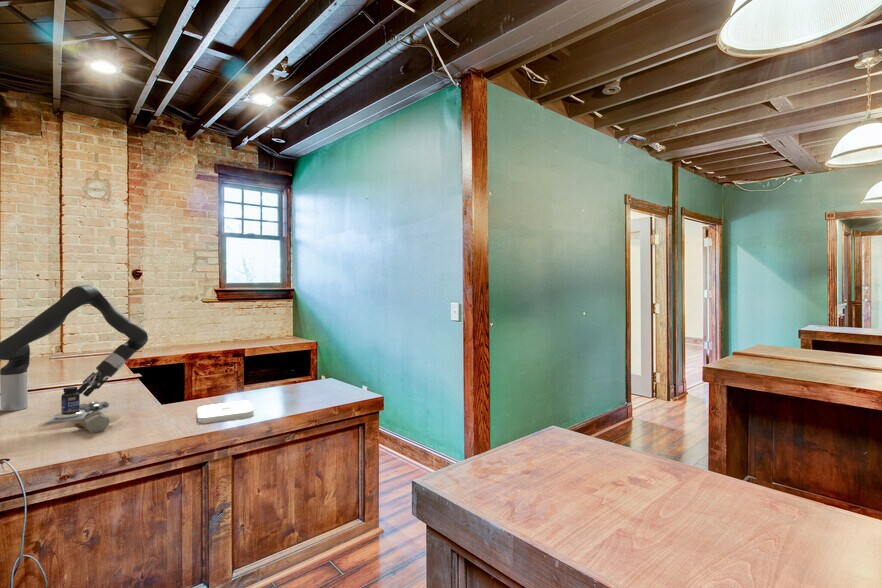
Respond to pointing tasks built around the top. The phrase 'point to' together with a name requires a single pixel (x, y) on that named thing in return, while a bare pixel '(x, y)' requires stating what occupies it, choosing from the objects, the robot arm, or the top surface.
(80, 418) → the gear board
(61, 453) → the top surface
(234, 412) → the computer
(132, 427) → the top surface
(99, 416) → the ceramic sculpture
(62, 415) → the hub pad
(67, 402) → the pill bottle
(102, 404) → the gear
